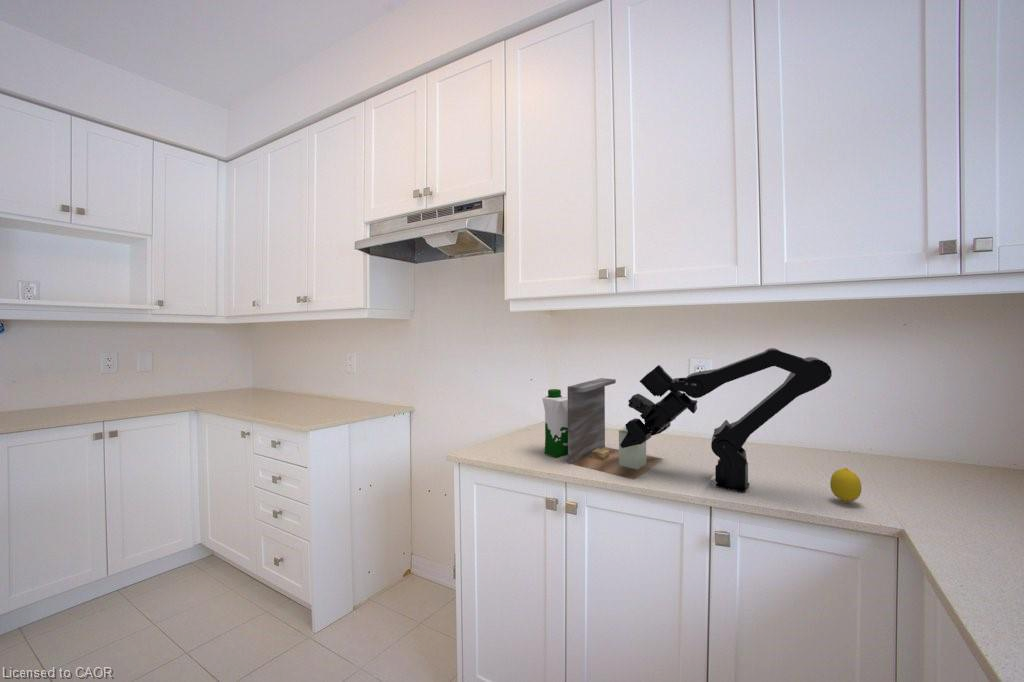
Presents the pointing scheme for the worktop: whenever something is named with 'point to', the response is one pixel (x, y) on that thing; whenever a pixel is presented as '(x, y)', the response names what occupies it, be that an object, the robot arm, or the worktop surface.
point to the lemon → (845, 485)
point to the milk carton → (556, 423)
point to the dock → (594, 431)
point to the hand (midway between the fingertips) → (628, 442)
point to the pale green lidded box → (631, 453)
